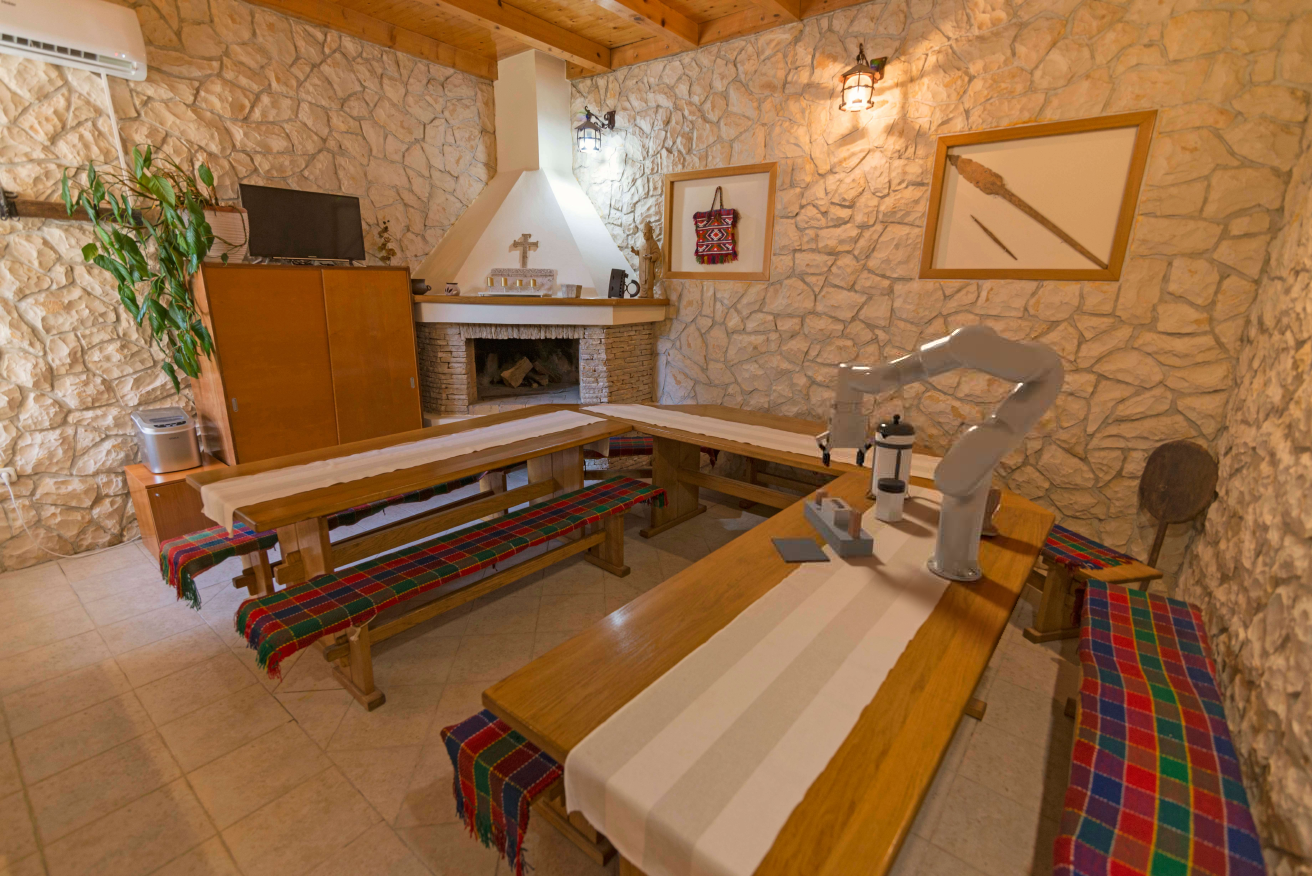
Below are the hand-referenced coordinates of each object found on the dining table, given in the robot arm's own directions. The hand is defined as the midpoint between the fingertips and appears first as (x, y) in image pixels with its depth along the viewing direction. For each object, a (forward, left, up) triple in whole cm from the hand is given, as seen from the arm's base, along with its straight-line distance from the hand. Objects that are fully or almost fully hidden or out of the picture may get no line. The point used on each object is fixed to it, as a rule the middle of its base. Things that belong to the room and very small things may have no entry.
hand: (842, 465), depth 163 cm
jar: (+11, -21, -21) cm, 32 cm away
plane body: (-1, +1, -21) cm, 21 cm away
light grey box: (-1, +1, -16) cm, 16 cm away
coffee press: (+29, -30, -21) cm, 47 cm away
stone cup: (0, -41, -21) cm, 46 cm away
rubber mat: (-11, +15, -21) cm, 28 cm away
